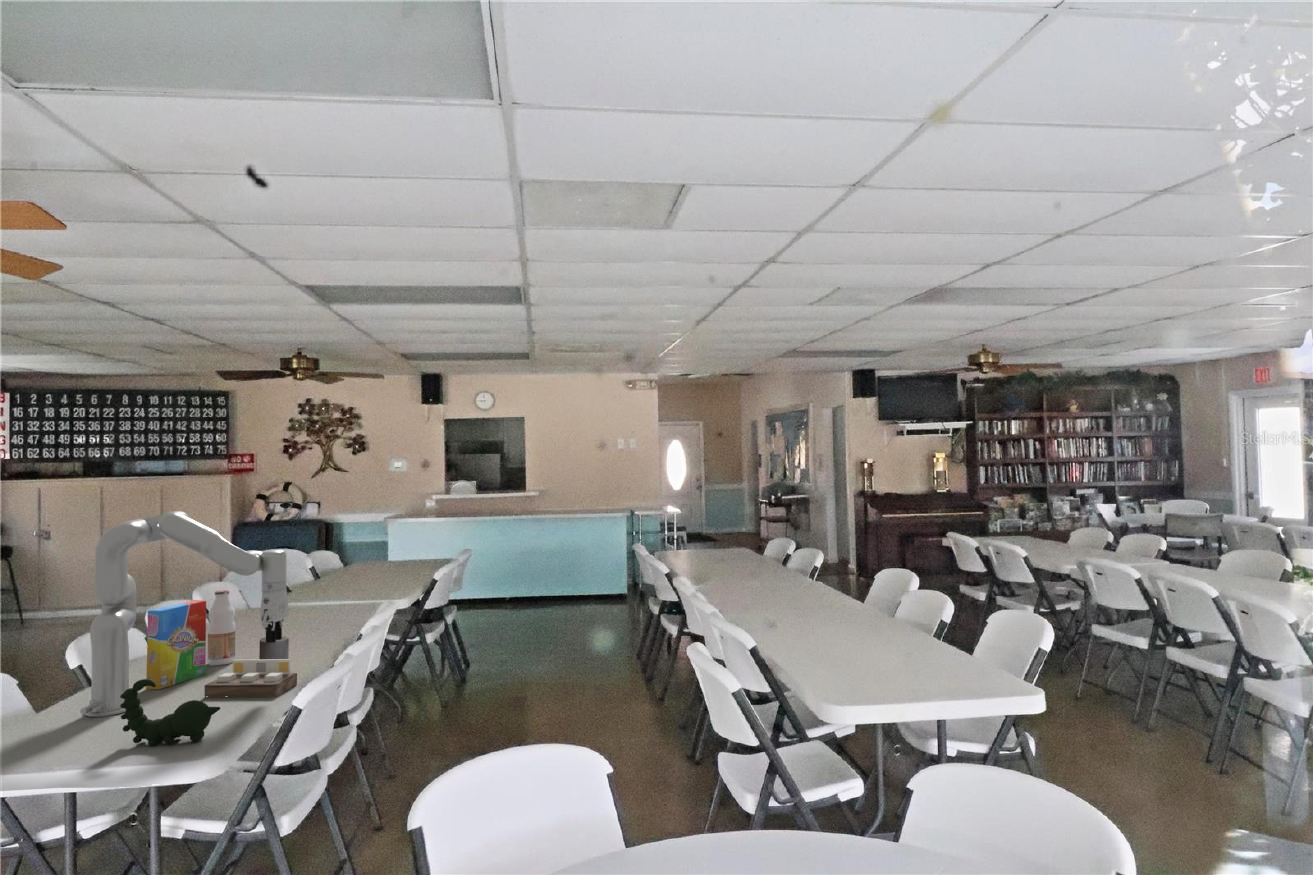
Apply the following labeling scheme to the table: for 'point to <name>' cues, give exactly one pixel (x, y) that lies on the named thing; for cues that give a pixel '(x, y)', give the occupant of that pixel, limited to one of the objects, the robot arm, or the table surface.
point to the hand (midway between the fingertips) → (273, 640)
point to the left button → (227, 677)
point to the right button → (273, 677)
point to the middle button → (250, 677)
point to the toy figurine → (180, 723)
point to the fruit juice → (221, 630)
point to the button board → (251, 687)
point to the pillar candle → (274, 649)
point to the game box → (176, 643)
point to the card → (261, 666)
